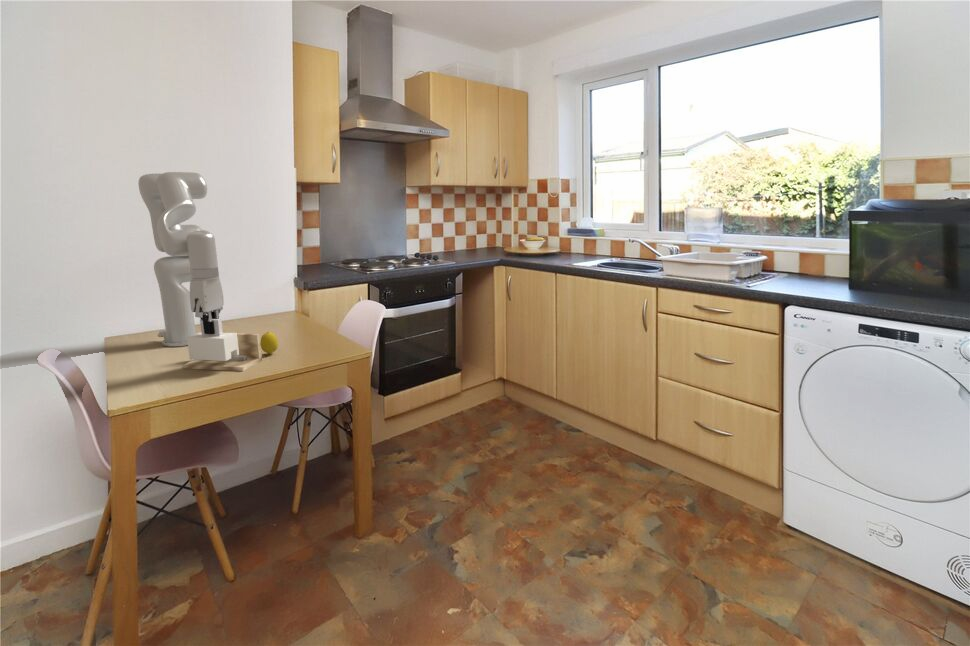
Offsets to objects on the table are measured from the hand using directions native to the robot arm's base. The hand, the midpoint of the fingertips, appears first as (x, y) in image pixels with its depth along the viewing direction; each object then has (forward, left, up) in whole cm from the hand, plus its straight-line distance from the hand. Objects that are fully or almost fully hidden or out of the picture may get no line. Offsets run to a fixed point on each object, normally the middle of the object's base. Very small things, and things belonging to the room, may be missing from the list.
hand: (211, 332), depth 168 cm
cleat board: (0, +4, -12) cm, 12 cm away
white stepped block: (0, 0, -8) cm, 8 cm away
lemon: (+9, +17, -12) cm, 22 cm away
